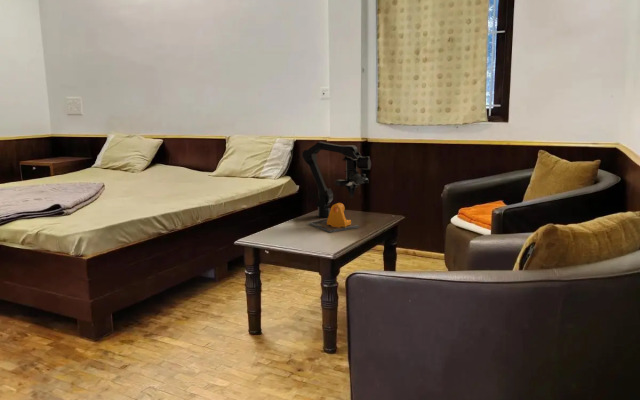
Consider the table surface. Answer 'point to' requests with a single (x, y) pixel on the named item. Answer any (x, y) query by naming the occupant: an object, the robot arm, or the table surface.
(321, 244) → the table surface
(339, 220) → the bracket
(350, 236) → the table surface
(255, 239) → the table surface
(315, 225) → the rail bay
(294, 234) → the table surface
